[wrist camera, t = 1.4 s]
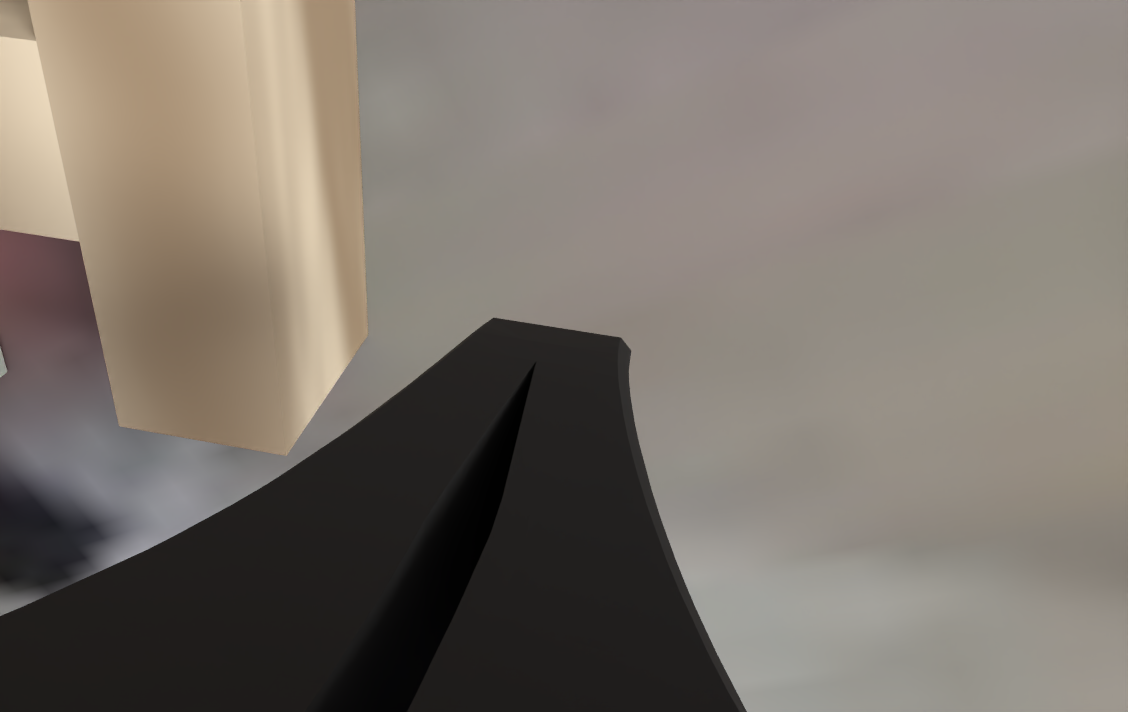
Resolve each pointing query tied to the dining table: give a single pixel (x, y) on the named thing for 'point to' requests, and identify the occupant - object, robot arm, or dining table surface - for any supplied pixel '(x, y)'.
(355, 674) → the robot arm
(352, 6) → the T block
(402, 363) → the dining table surface
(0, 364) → the mint green slab
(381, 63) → the dining table surface
